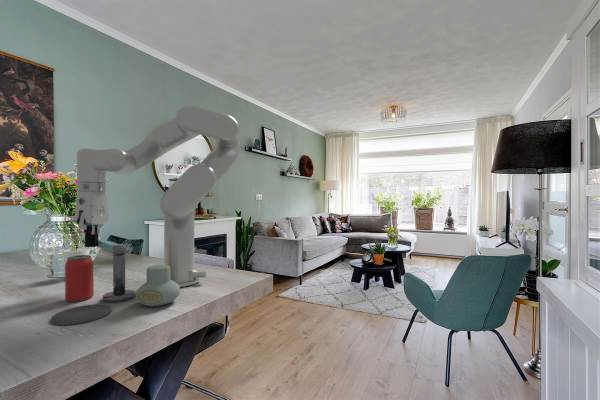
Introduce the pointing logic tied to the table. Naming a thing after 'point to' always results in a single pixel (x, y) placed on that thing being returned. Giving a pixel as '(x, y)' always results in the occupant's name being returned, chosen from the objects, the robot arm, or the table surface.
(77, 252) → the white cup
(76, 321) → the rubber mat
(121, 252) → the bar
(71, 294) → the beer can
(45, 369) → the table surface
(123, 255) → the clip post
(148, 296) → the air freshener
